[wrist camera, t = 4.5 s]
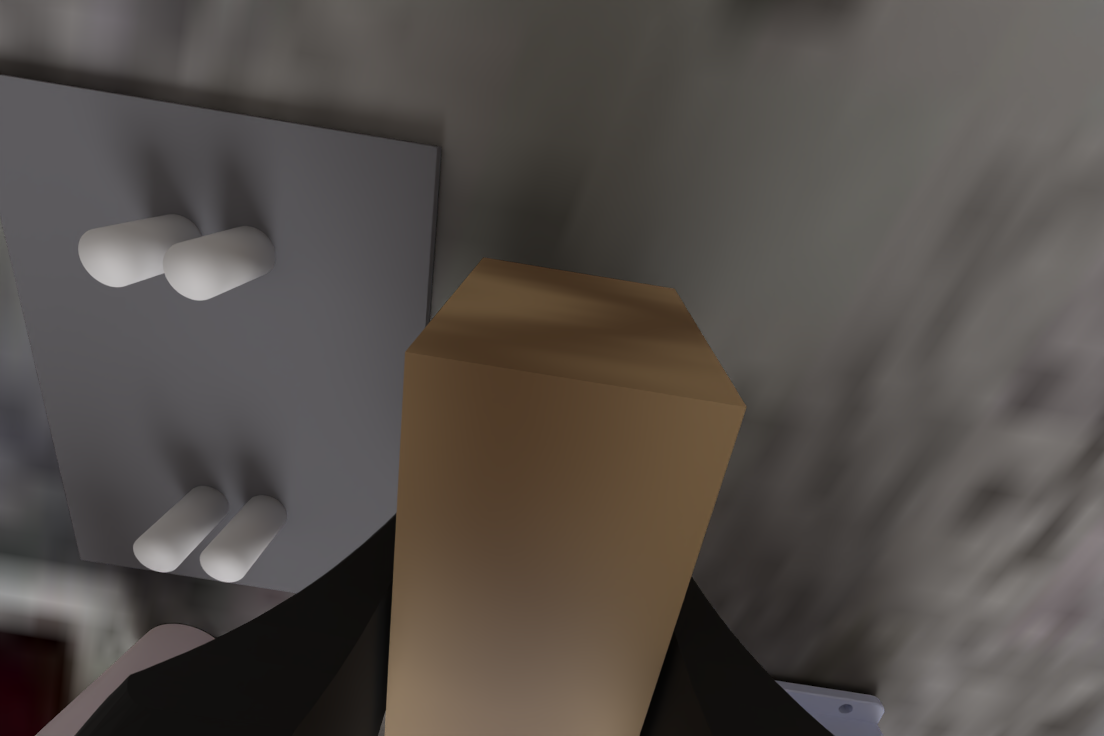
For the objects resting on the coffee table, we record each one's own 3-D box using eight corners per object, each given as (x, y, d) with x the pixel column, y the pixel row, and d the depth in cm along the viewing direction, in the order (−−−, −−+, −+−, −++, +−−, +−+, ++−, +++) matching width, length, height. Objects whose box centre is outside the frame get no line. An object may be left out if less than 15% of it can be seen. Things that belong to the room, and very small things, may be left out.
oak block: (674, 288, 13) (747, 407, 7) (583, 660, 17) (583, 907, 12) (483, 257, 13) (405, 352, 7) (443, 638, 17) (377, 876, 12)
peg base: (441, 146, 15) (409, 149, 12) (410, 599, 21) (384, 670, 18) (-15, 71, 14) (-156, 56, 12) (92, 550, 21) (16, 614, 18)
